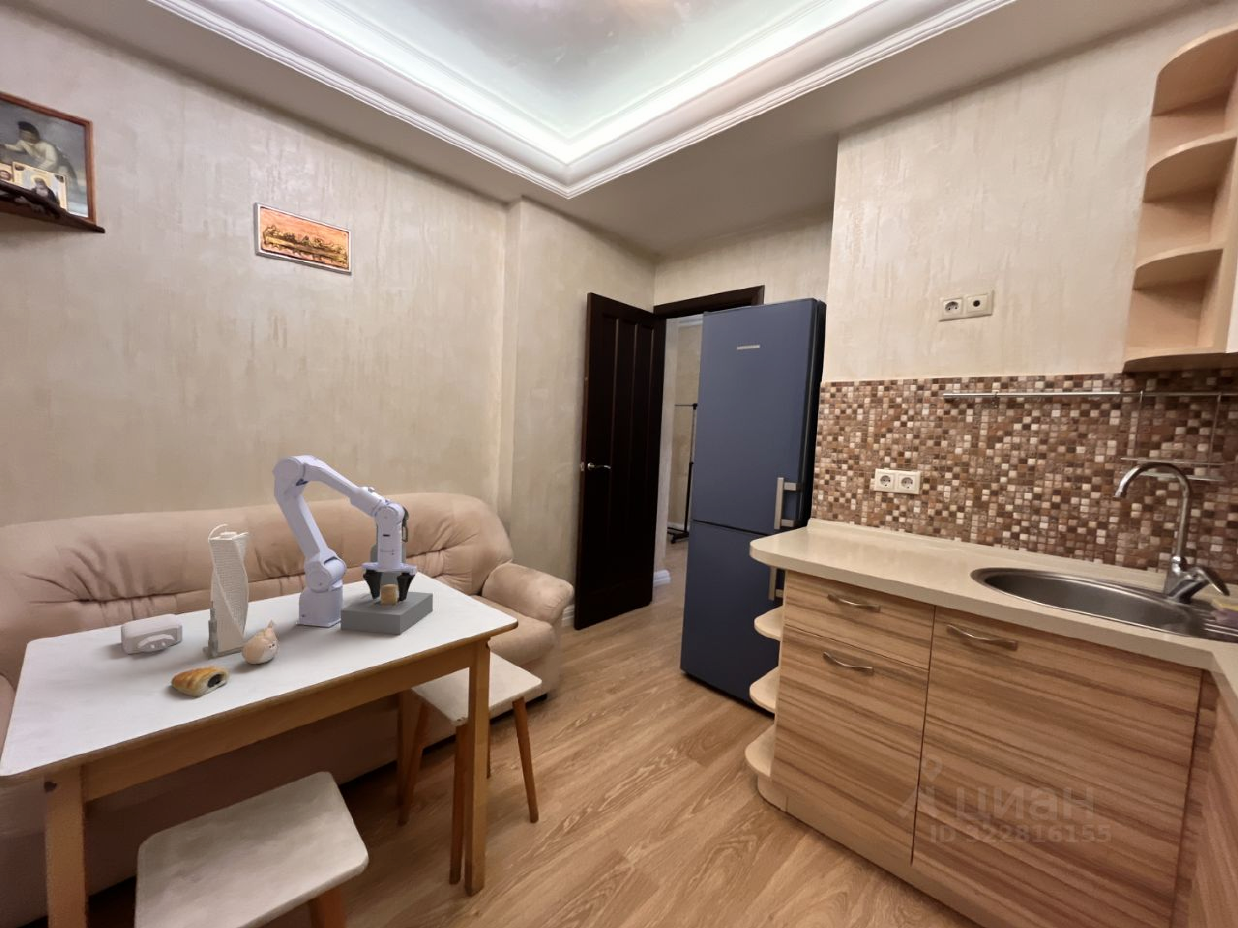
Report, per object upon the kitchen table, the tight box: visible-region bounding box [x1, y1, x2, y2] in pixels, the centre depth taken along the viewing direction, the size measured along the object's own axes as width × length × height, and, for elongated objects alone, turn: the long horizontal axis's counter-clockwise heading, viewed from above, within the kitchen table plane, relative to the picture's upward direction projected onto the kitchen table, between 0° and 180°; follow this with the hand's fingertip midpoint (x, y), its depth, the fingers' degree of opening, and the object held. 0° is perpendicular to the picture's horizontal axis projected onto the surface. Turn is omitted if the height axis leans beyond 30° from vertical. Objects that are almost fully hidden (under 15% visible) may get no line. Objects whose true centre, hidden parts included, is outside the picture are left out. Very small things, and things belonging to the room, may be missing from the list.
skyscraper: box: [202, 523, 250, 661], centre depth 106 cm, size 8×8×28 cm
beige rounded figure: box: [241, 619, 280, 665], centre depth 102 cm, size 7×6×8 cm
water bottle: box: [369, 505, 410, 595], centre depth 143 cm, size 10×10×28 cm
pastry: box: [170, 665, 231, 697], centre depth 92 cm, size 9×7×4 cm
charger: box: [120, 613, 184, 655], centre depth 106 cm, size 5×9×15 cm
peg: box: [381, 584, 398, 606], centre depth 126 cm, size 4×4×9 cm
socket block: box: [340, 589, 434, 636], centre depth 126 cm, size 16×16×5 cm
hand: (389, 598), depth 126 cm, fingers open, 7 cm apart
